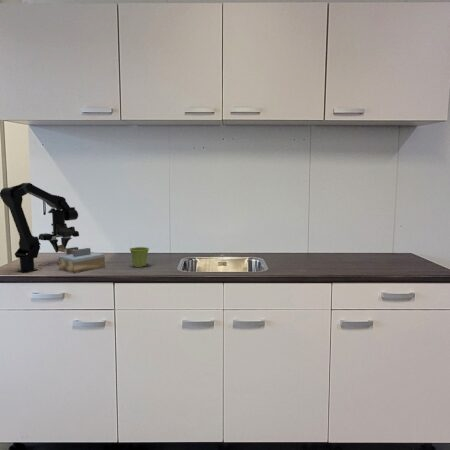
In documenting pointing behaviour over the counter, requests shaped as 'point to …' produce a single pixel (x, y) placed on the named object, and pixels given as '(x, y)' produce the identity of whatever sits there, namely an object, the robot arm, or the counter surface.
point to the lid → (81, 255)
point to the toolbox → (80, 263)
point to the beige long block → (63, 249)
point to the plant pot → (139, 256)
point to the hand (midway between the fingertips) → (60, 252)
